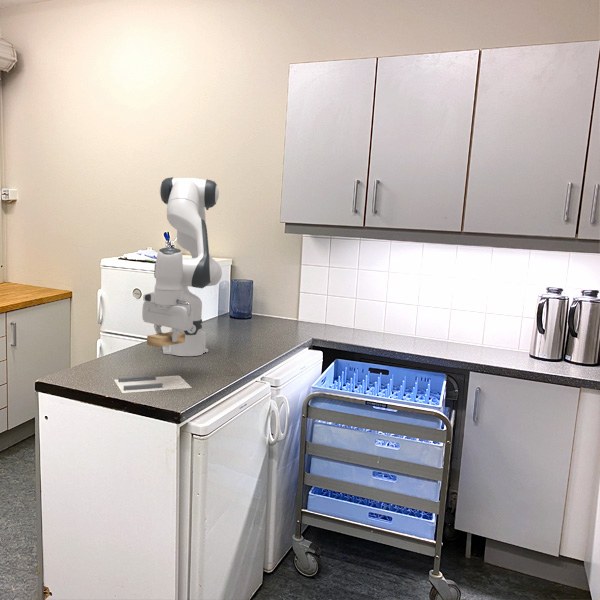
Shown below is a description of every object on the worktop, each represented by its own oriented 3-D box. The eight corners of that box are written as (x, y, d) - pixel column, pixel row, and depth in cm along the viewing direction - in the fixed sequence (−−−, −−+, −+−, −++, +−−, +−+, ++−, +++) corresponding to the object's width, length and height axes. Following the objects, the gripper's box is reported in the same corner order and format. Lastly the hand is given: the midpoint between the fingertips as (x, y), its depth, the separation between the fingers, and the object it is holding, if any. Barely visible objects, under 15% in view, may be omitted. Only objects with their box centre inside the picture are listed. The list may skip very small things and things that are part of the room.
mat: (113, 381, 187) (114, 376, 187) (179, 377, 197) (179, 372, 197) (122, 394, 174) (122, 389, 173) (191, 389, 184) (192, 384, 184)
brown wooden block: (174, 339, 192) (174, 331, 191) (184, 342, 189) (185, 333, 189) (146, 344, 182) (147, 335, 181) (157, 347, 179) (158, 338, 179)
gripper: (198, 301, 180) (196, 343, 182) (154, 293, 191) (152, 333, 193) (184, 302, 175) (182, 346, 177) (139, 294, 186) (138, 335, 188)
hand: (166, 339), depth 185 cm, fingers closed on brown wooden block, 5 cm apart
